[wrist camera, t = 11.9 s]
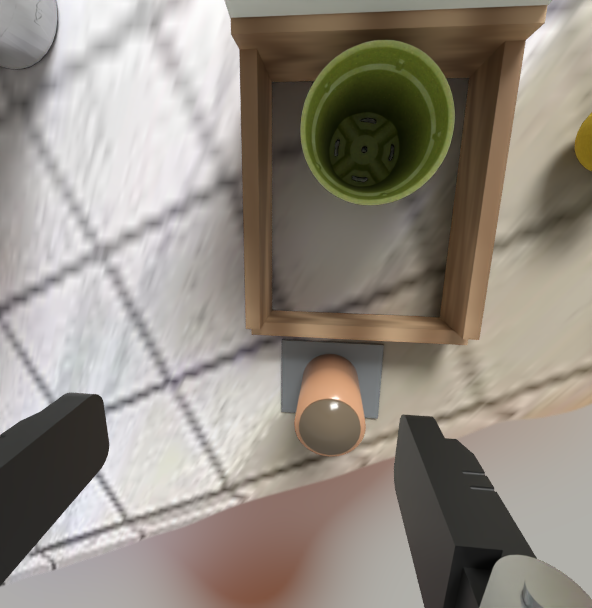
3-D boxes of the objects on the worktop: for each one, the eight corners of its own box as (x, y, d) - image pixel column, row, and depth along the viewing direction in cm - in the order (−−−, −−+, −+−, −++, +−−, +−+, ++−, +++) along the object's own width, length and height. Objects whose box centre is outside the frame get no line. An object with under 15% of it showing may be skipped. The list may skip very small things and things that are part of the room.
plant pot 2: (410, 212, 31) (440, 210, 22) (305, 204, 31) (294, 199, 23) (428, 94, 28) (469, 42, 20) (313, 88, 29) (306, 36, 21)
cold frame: (260, 321, 34) (239, 351, 27) (257, 66, 29) (230, 11, 21) (451, 329, 33) (488, 364, 25) (487, 60, 27) (548, -2, 19)
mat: (281, 410, 37) (281, 411, 36) (282, 339, 35) (281, 340, 34) (377, 416, 36) (377, 418, 35) (383, 344, 34) (383, 345, 33)
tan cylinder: (302, 402, 36) (293, 456, 28) (303, 352, 34) (294, 393, 26) (356, 406, 35) (363, 462, 27) (359, 355, 34) (368, 398, 26)
